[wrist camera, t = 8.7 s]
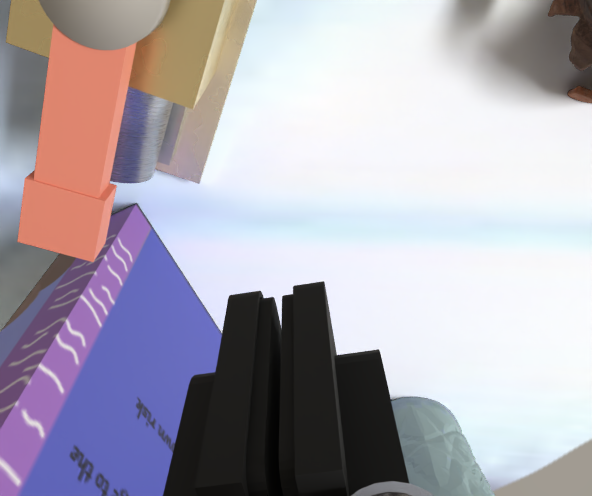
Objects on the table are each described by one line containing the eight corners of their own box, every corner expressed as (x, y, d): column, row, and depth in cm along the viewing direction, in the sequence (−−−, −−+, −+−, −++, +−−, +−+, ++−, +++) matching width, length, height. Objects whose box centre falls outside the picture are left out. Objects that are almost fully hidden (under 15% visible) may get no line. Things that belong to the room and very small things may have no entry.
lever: (60, -108, 19) (39, -114, 18) (183, -62, 20) (175, -63, 19) (20, 220, 25) (2, 238, 24) (118, 246, 26) (107, 265, 24)
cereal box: (77, 230, 38) (-185, 575, 17) (136, 203, 37) (-61, 529, 16) (202, 404, 46) (130, 795, 24) (255, 384, 45) (227, 772, 23)
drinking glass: (326, 439, 48) (338, 578, 37) (410, 367, 44) (450, 497, 34) (410, 490, 51) (443, 631, 40) (495, 426, 47) (555, 562, 37)
